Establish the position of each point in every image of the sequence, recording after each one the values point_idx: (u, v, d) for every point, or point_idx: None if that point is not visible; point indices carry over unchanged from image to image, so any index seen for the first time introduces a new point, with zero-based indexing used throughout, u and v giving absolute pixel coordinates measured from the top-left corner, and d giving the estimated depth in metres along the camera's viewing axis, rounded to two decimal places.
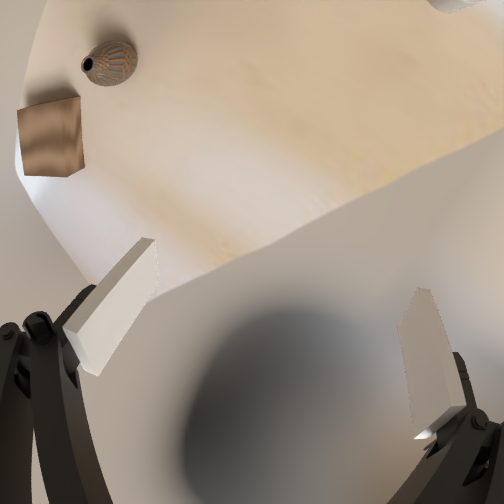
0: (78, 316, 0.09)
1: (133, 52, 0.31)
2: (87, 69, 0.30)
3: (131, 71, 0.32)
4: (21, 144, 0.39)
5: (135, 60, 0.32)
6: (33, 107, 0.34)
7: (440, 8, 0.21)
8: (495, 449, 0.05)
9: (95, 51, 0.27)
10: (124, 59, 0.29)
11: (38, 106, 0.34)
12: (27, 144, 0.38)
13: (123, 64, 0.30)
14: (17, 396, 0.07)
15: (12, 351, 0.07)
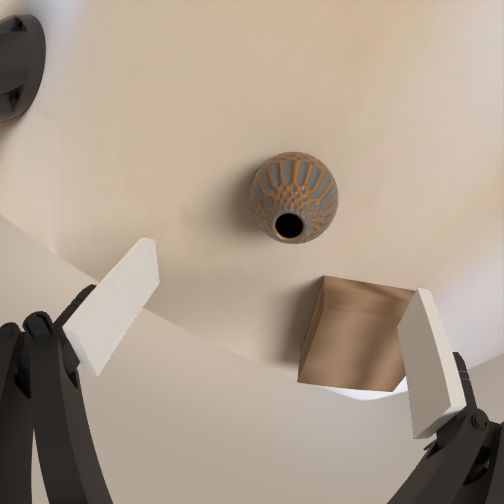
0: (78, 316, 0.09)
1: (284, 153, 0.22)
2: None
3: (320, 161, 0.22)
4: (350, 386, 0.33)
5: (300, 152, 0.22)
6: (309, 356, 0.30)
7: None
8: (495, 449, 0.05)
9: (265, 211, 0.20)
10: (296, 160, 0.20)
11: (312, 347, 0.30)
12: (357, 377, 0.31)
13: (307, 163, 0.20)
14: (17, 396, 0.07)
15: (12, 351, 0.07)
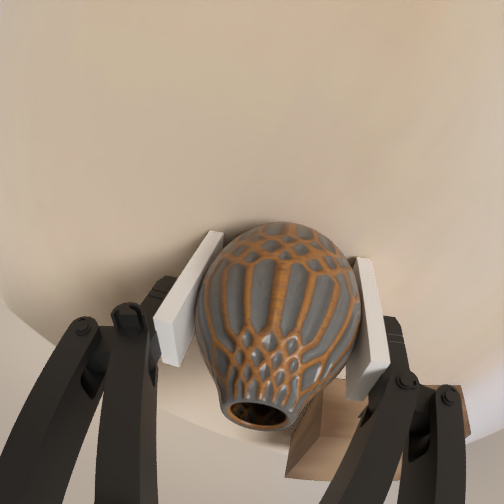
0: (168, 306, 0.10)
1: (262, 229, 0.12)
2: None
3: (331, 245, 0.12)
4: None
5: (293, 226, 0.12)
6: (298, 464, 0.20)
7: None
8: (434, 421, 0.07)
9: (214, 372, 0.09)
10: (282, 263, 0.10)
11: (302, 460, 0.19)
12: None
13: (305, 271, 0.10)
14: (79, 397, 0.08)
15: (85, 350, 0.08)
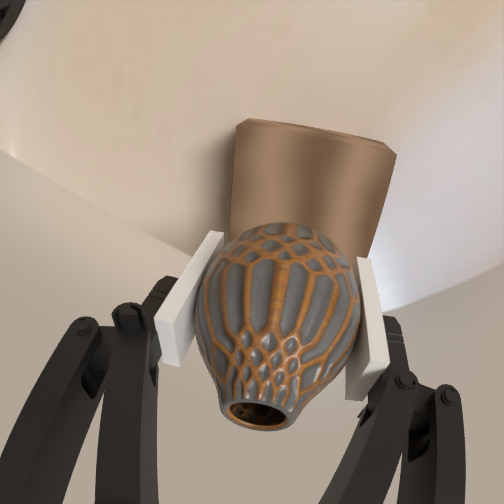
0: (169, 306, 0.10)
1: (261, 229, 0.12)
2: None
3: (331, 245, 0.12)
4: None
5: (293, 226, 0.12)
6: (233, 208, 0.26)
7: None
8: (433, 421, 0.07)
9: (214, 372, 0.09)
10: (282, 262, 0.10)
11: (234, 192, 0.25)
12: None
13: (304, 270, 0.10)
14: (80, 397, 0.08)
15: (85, 350, 0.08)
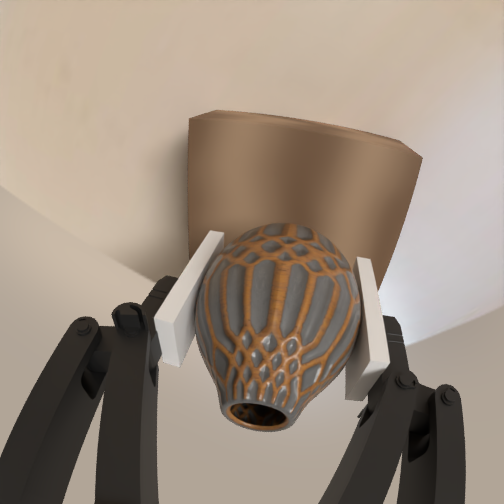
0: (169, 306, 0.10)
1: (261, 229, 0.12)
2: None
3: (331, 246, 0.12)
4: None
5: (293, 227, 0.12)
6: (191, 233, 0.19)
7: None
8: (433, 421, 0.07)
9: (214, 373, 0.09)
10: (282, 263, 0.10)
11: (191, 212, 0.18)
12: None
13: (304, 271, 0.10)
14: (80, 397, 0.08)
15: (85, 350, 0.08)
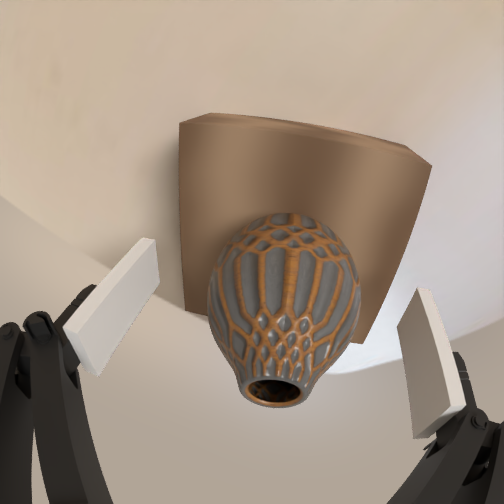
0: (78, 316, 0.09)
1: (268, 219, 0.13)
2: None
3: (333, 234, 0.12)
4: None
5: (297, 216, 0.13)
6: (184, 245, 0.18)
7: None
8: (495, 449, 0.05)
9: (231, 354, 0.10)
10: (292, 250, 0.11)
11: (183, 223, 0.17)
12: None
13: (312, 257, 0.10)
14: (17, 396, 0.07)
15: (12, 351, 0.07)
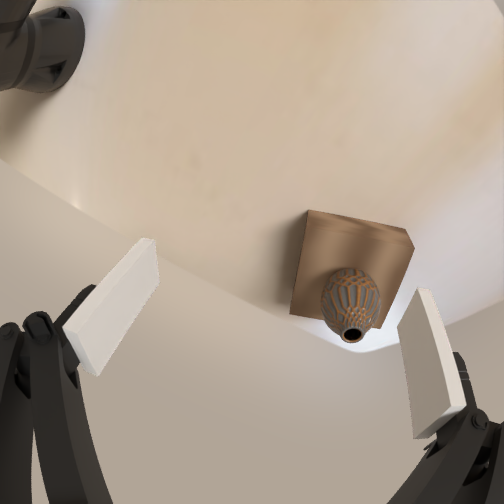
0: (78, 316, 0.09)
1: (347, 272, 0.31)
2: (346, 332, 0.32)
3: (371, 278, 0.31)
4: None
5: (357, 271, 0.31)
6: (298, 281, 0.36)
7: None
8: (495, 449, 0.05)
9: (336, 322, 0.28)
10: (358, 285, 0.29)
11: (300, 271, 0.35)
12: None
13: (365, 288, 0.29)
14: (17, 396, 0.07)
15: (12, 351, 0.07)
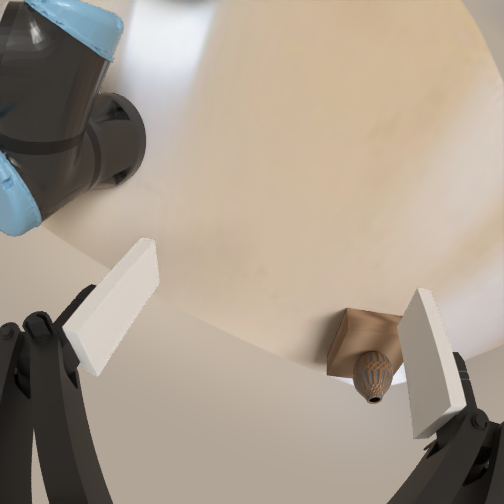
0: (78, 316, 0.09)
1: (372, 358, 0.42)
2: None
3: (387, 360, 0.42)
4: None
5: (379, 356, 0.43)
6: (336, 357, 0.47)
7: None
8: (495, 449, 0.05)
9: (365, 392, 0.40)
10: (380, 369, 0.40)
11: (339, 352, 0.47)
12: None
13: (384, 370, 0.40)
14: (17, 396, 0.07)
15: (12, 351, 0.07)
